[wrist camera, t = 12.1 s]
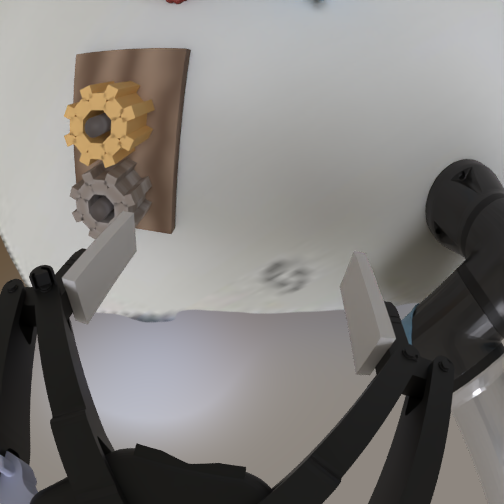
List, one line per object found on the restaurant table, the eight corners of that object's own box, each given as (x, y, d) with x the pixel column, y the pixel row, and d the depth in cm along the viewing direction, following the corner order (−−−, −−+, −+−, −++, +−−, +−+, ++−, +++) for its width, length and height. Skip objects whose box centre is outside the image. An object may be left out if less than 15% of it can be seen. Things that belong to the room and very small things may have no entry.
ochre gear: (158, 81, 30) (138, 84, 25) (151, 155, 36) (132, 171, 31) (90, 81, 30) (64, 86, 25) (88, 150, 35) (65, 164, 30)
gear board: (190, 49, 30) (167, 44, 22) (174, 227, 44) (156, 262, 37) (84, 54, 29) (44, 56, 21) (86, 213, 43) (58, 242, 36)
